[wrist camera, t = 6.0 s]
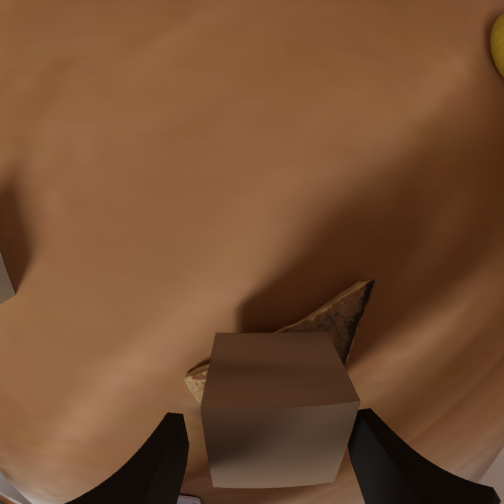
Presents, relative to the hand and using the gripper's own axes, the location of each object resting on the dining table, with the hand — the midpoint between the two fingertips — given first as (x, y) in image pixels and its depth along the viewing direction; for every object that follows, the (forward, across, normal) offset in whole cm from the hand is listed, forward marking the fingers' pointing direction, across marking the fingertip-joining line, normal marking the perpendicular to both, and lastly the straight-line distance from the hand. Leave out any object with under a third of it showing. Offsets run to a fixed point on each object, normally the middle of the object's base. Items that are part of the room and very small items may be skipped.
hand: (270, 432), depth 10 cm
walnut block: (+3, 0, 0) cm, 3 cm away
